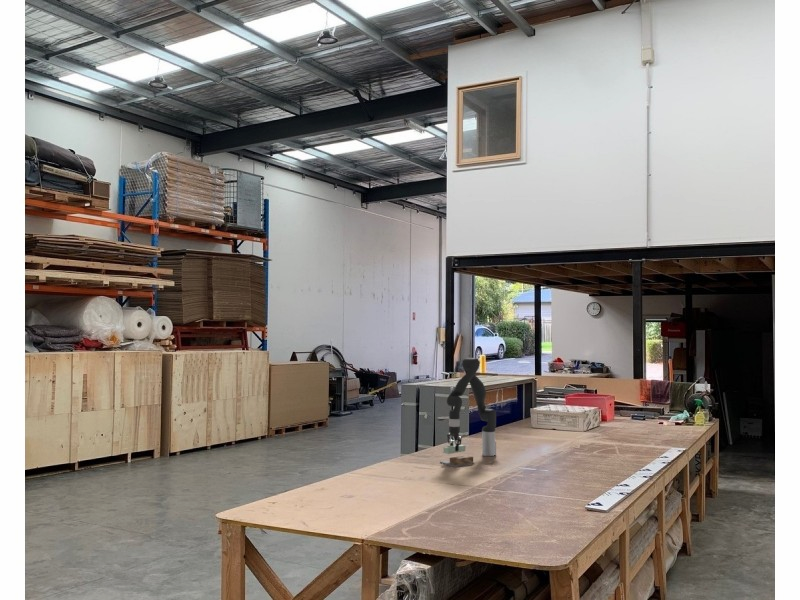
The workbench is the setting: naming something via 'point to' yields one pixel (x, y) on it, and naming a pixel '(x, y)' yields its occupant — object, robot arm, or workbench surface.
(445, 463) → the base
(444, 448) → the plank
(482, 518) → the workbench surface
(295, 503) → the workbench surface
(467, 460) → the walnut board
